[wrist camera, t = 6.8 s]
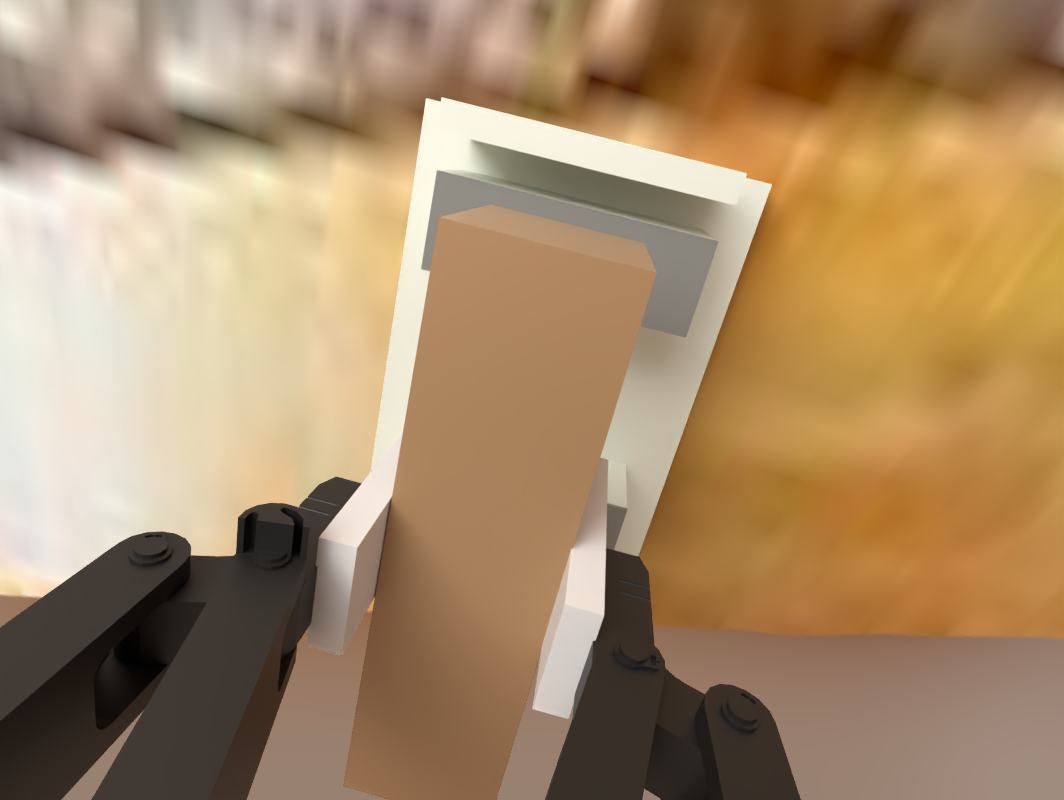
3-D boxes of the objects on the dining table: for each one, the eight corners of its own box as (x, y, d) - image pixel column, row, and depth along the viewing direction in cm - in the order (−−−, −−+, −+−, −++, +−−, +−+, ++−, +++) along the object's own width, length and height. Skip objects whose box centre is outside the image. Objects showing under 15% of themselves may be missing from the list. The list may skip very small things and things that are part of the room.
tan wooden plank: (489, 204, 16) (436, 216, 11) (644, 243, 16) (656, 272, 11) (401, 650, 21) (341, 785, 16) (515, 683, 21) (487, 827, 16)
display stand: (439, 103, 26) (381, 82, 20) (760, 183, 26) (809, 188, 19) (380, 481, 33) (323, 558, 27) (631, 550, 33) (634, 644, 26)
